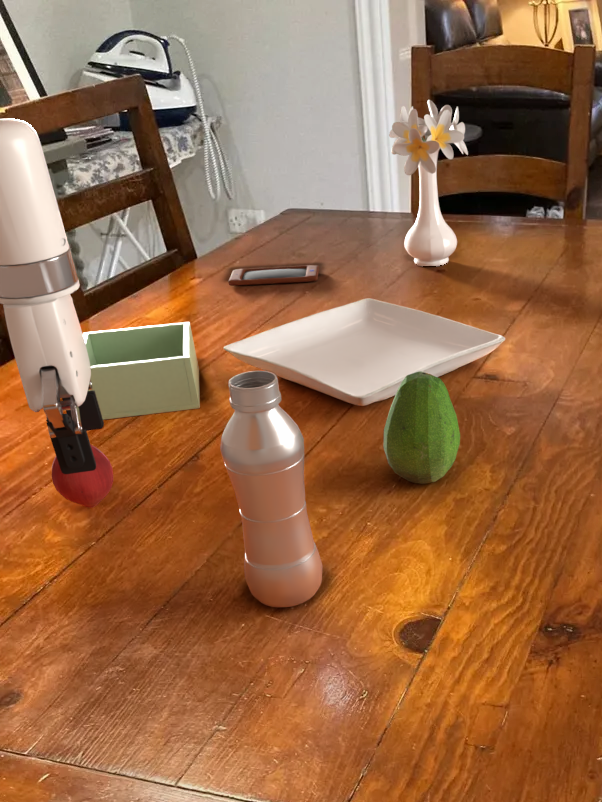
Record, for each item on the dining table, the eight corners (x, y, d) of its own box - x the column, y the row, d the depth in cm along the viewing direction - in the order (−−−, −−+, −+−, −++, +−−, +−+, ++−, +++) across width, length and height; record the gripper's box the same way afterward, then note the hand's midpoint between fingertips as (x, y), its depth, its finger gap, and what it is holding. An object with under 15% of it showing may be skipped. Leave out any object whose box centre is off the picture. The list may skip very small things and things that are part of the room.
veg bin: (86, 421, 114) (72, 370, 110) (95, 380, 125) (82, 332, 121) (199, 408, 116) (189, 357, 113) (199, 369, 127) (189, 321, 123)
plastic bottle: (339, 599, 82) (312, 381, 70) (268, 626, 79) (228, 404, 67) (305, 566, 86) (275, 357, 74) (237, 591, 83) (194, 377, 71)
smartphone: (316, 276, 158) (227, 280, 157) (317, 281, 158) (228, 286, 158) (318, 264, 163) (232, 268, 163) (319, 269, 164) (233, 274, 163)
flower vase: (395, 280, 158) (385, 115, 143) (398, 250, 173) (388, 98, 158) (472, 277, 158) (469, 112, 143) (468, 247, 173) (465, 95, 158)
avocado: (454, 499, 95) (450, 388, 89) (379, 494, 97) (370, 385, 90) (466, 463, 102) (464, 357, 95) (396, 460, 103) (389, 354, 96)
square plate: (362, 426, 111) (359, 395, 108) (223, 372, 126) (218, 344, 124) (508, 359, 127) (508, 331, 124) (369, 319, 142) (367, 293, 140)
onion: (75, 493, 99) (54, 423, 95) (128, 492, 99) (110, 422, 94) (54, 521, 94) (31, 449, 90) (110, 520, 94) (90, 448, 90)
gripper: (3, 255, 90) (55, 420, 100) (-31, 310, 76) (33, 495, 86) (84, 246, 91) (127, 410, 101) (64, 299, 77) (117, 483, 87)
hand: (84, 449), depth 93 cm, fingers open, 9 cm apart
